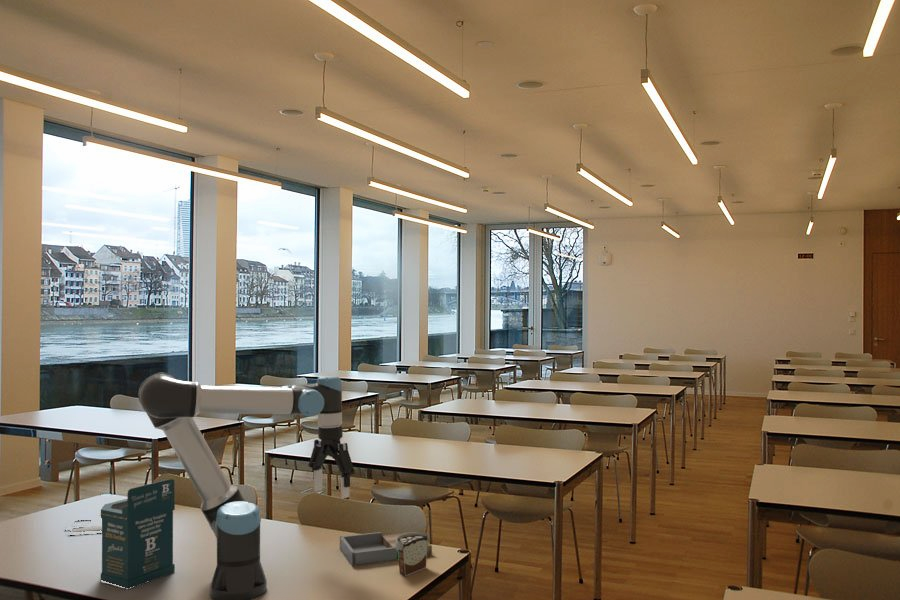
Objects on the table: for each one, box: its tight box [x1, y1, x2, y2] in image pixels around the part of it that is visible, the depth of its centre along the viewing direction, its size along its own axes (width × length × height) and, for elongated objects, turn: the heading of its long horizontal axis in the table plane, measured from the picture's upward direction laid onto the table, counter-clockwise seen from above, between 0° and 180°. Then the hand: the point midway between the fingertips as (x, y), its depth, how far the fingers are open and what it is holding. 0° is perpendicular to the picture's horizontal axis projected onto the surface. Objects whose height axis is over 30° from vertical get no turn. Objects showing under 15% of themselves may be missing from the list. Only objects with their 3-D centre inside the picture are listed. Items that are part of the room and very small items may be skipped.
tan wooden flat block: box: [382, 531, 433, 561], centre depth 238 cm, size 16×12×3 cm
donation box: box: [100, 478, 176, 588], centre depth 216 cm, size 16×16×28 cm
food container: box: [395, 532, 430, 577], centre depth 219 cm, size 12×6×10 cm, turn 141°
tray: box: [339, 531, 398, 567], centre depth 233 cm, size 18×14×4 cm
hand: (331, 494), depth 228 cm, fingers open, 13 cm apart
